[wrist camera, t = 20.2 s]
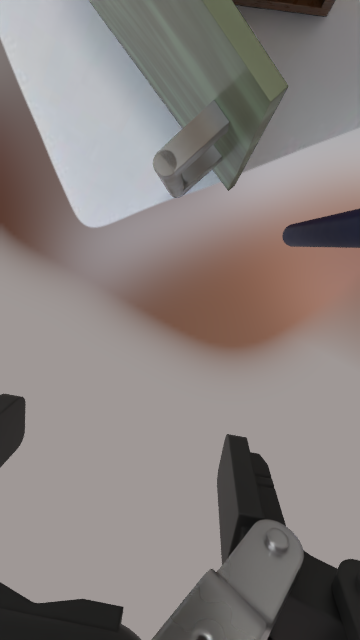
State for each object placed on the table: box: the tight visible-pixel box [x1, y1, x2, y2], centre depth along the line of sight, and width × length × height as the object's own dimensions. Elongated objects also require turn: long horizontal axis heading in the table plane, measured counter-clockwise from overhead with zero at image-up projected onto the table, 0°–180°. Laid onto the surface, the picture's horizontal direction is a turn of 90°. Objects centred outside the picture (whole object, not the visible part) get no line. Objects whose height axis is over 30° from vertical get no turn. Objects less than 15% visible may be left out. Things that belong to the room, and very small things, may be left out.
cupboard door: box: [89, 0, 288, 198], centre depth 24 cm, size 7×26×24 cm, turn 39°
